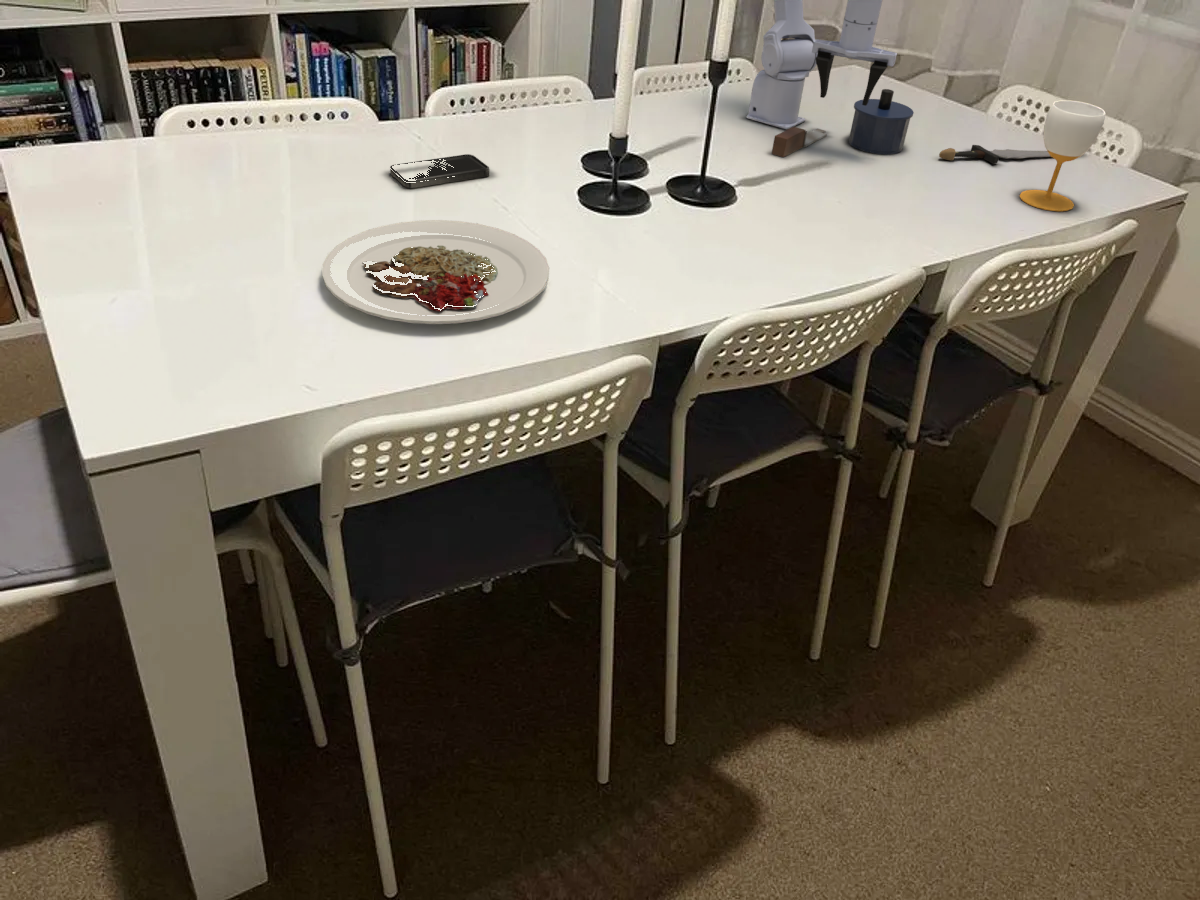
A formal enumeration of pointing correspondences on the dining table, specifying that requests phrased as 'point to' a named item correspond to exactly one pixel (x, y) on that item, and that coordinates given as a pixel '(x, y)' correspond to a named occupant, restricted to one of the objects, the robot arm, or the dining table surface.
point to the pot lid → (884, 108)
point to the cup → (1065, 146)
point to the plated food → (443, 272)
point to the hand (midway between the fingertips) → (844, 100)
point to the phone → (462, 170)
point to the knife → (795, 140)
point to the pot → (877, 134)
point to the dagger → (991, 154)
